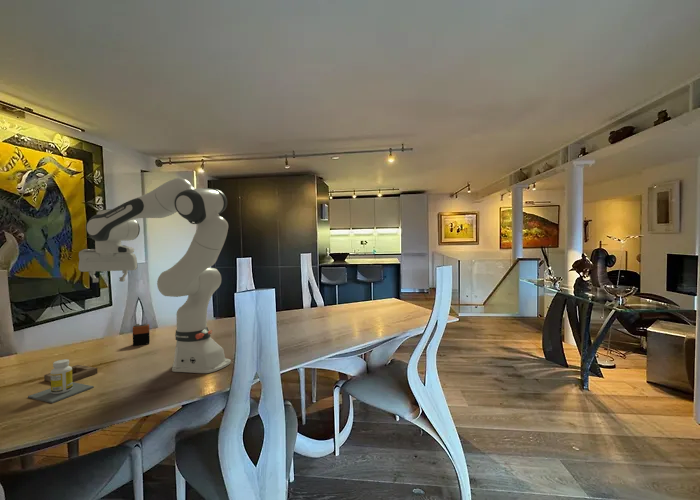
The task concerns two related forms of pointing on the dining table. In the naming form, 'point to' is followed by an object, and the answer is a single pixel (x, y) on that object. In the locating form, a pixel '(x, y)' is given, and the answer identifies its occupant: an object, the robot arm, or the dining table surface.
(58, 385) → the supplement bottle
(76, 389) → the charcoal mat
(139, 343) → the battery
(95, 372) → the walnut holder
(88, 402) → the dining table surface
